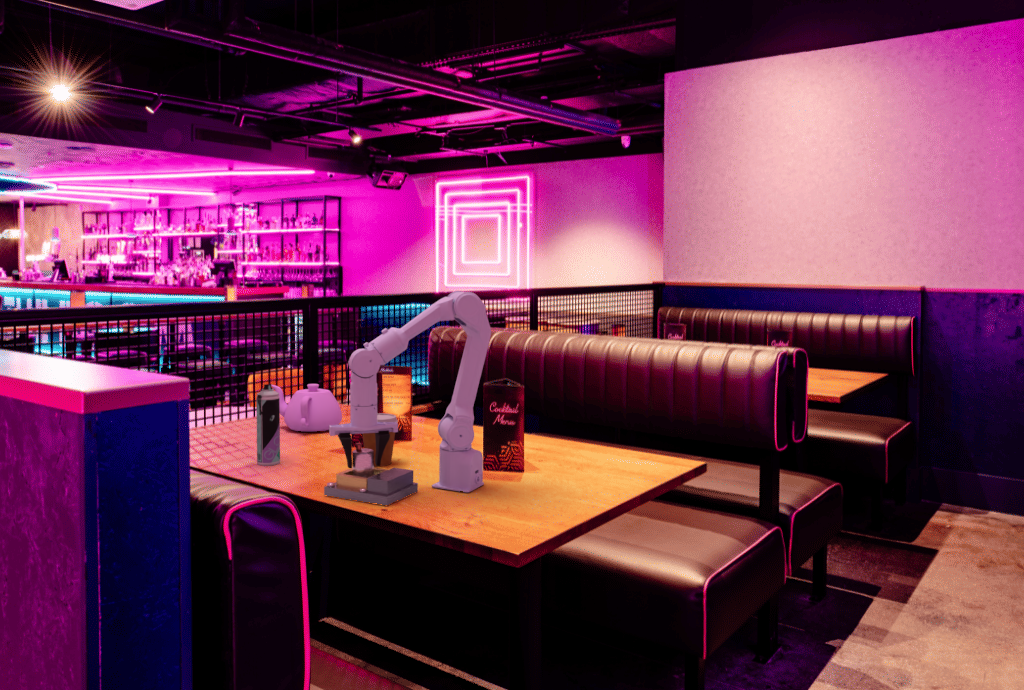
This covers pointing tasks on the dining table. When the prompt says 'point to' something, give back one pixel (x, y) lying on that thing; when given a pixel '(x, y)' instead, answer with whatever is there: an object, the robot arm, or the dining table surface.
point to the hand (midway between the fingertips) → (363, 466)
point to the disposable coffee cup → (371, 442)
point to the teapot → (310, 409)
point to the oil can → (363, 461)
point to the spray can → (268, 426)
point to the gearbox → (373, 486)
